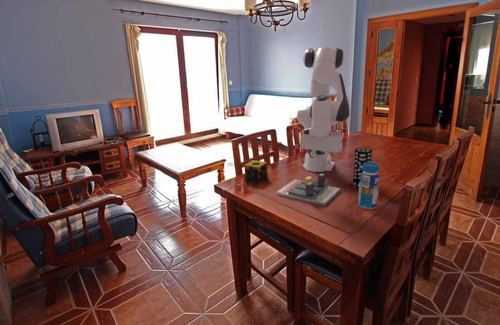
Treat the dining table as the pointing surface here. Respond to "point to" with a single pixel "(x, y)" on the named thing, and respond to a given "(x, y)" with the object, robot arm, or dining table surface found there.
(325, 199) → the panel
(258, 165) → the candle
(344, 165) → the dining table surface
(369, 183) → the blue lidded canister
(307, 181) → the breaker
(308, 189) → the breaker
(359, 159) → the white-spotted black cylinder
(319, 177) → the breaker
